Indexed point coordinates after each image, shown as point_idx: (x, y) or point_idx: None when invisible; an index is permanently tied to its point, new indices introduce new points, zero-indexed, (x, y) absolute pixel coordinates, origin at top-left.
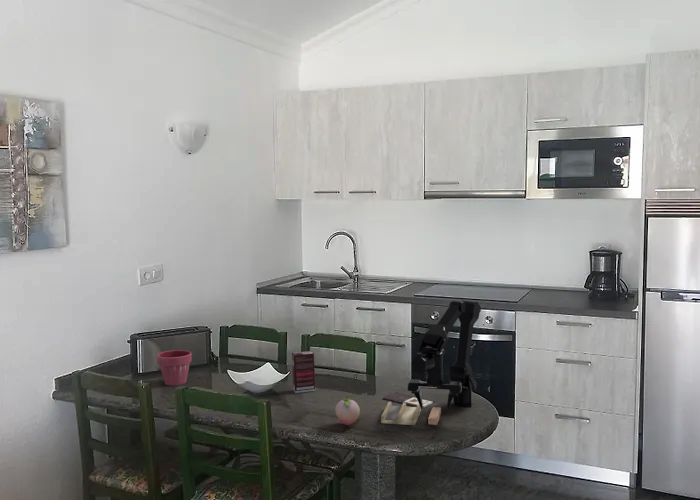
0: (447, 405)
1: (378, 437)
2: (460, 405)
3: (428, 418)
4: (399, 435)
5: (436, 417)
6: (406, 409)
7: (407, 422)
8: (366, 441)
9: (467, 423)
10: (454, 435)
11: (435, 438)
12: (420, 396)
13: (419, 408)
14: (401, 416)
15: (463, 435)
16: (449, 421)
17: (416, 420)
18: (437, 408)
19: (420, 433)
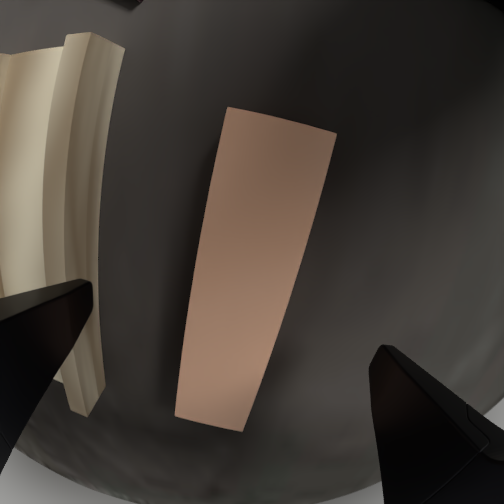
0: (377, 438)
1: (27, 438)
2: (500, 6)
3: (176, 415)
4: (78, 451)
5: (242, 413)
6: (6, 124)
7: (59, 379)
8: (16, 445)
9: (453, 370)
10: (316, 485)
11: (225, 497)
12: (2, 439)
13: (78, 149)
14: (2, 293)
15: (356, 482)
16: (356, 346)
17: (97, 334)
18: (287, 166)
19: (155, 462)
